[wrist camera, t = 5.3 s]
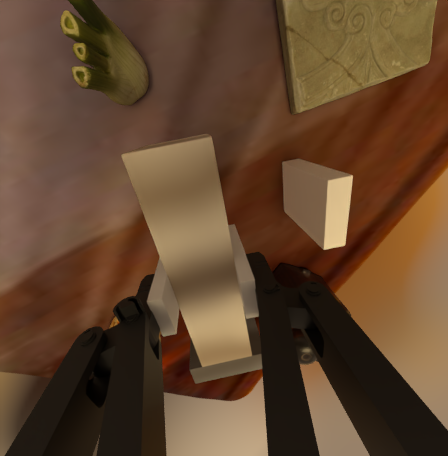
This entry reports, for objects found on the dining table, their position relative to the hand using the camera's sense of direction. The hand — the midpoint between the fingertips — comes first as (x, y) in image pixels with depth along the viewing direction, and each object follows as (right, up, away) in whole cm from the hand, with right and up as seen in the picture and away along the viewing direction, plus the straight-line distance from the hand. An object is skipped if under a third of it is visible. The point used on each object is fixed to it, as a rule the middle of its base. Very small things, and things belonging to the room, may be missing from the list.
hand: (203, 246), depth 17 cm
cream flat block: (+12, +8, +16) cm, 21 cm away
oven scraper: (0, 0, 0) cm, 0 cm away
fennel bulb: (-9, +19, +8) cm, 23 cm away
